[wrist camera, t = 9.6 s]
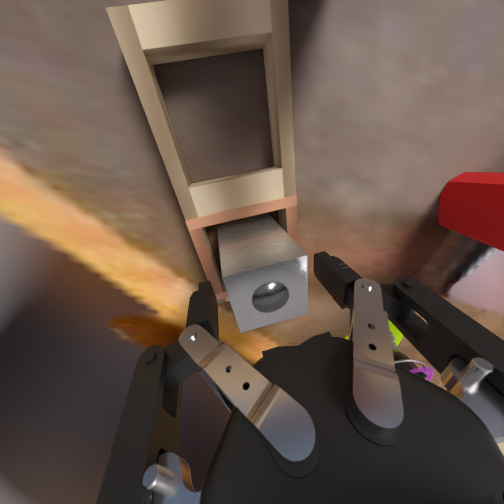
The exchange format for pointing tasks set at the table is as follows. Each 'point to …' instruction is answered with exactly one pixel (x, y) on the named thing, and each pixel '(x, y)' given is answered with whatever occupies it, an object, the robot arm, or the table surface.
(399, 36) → the table surface
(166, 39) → the wooden frame
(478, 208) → the french fries
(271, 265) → the brushed steel billet
